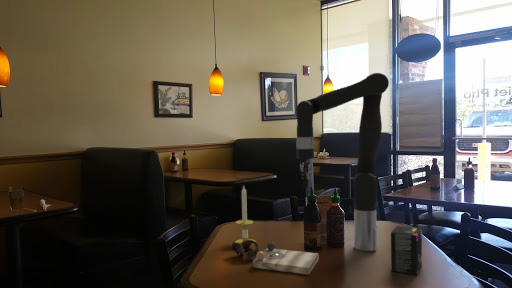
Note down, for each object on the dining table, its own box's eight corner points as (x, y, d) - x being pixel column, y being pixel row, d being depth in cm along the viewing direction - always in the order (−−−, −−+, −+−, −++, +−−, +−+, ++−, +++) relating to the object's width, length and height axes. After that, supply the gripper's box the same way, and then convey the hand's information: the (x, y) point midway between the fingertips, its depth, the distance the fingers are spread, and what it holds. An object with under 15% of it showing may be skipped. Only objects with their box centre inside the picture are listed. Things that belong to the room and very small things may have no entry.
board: (318, 259, 157) (318, 253, 156) (308, 274, 142) (308, 267, 142) (267, 253, 165) (267, 248, 165) (253, 267, 150) (252, 260, 150)
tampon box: (417, 276, 138) (417, 235, 137) (390, 271, 143) (390, 232, 142) (422, 266, 147) (422, 227, 146) (397, 261, 152) (397, 224, 151)
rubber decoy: (276, 249, 163) (276, 241, 163) (273, 251, 160) (273, 243, 159) (268, 248, 164) (268, 240, 164) (266, 251, 161) (265, 242, 161)
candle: (251, 247, 174) (250, 187, 173) (231, 245, 178) (229, 186, 176) (259, 240, 184) (257, 183, 182) (239, 238, 187) (237, 183, 185)
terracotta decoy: (266, 258, 152) (266, 250, 151) (263, 261, 149) (263, 253, 148) (258, 257, 153) (258, 249, 153) (255, 260, 150) (254, 252, 150)
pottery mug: (259, 254, 166) (262, 240, 162) (254, 271, 159) (257, 257, 154) (233, 246, 168) (235, 232, 164) (226, 262, 160) (228, 248, 156)
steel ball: (281, 260, 156) (280, 252, 156) (278, 263, 153) (277, 255, 153) (273, 260, 157) (272, 252, 157) (270, 263, 154) (269, 255, 154)
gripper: (309, 148, 161) (310, 190, 162) (317, 146, 173) (317, 185, 174) (292, 148, 163) (293, 189, 164) (300, 146, 176) (301, 184, 177)
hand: (305, 187), depth 169 cm, fingers closed
